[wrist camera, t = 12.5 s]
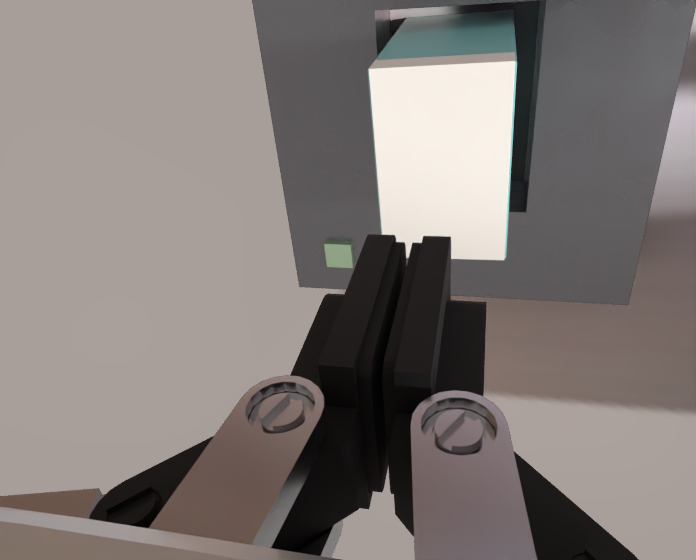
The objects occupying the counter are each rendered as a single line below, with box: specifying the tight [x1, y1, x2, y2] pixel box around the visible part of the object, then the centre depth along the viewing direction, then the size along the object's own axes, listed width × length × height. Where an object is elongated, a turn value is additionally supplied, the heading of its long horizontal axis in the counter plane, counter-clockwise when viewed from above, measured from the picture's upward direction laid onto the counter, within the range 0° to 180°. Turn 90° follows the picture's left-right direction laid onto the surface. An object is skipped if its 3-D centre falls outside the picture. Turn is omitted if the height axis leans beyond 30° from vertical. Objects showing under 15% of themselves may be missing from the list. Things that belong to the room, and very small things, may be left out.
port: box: [252, 0, 696, 305], centre depth 22 cm, size 14×16×3 cm
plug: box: [367, 10, 517, 260], centre depth 20 cm, size 4×6×8 cm, turn 6°
